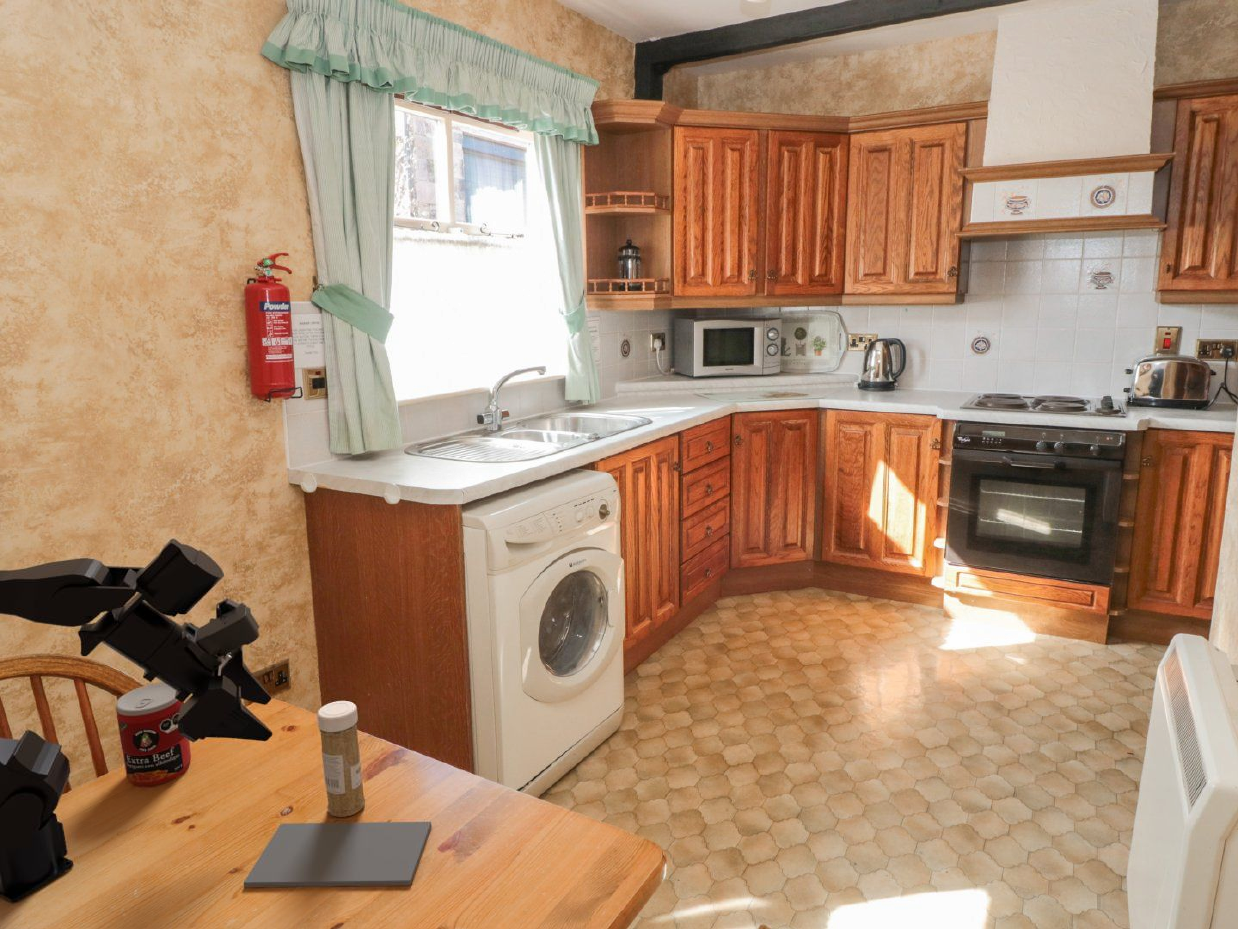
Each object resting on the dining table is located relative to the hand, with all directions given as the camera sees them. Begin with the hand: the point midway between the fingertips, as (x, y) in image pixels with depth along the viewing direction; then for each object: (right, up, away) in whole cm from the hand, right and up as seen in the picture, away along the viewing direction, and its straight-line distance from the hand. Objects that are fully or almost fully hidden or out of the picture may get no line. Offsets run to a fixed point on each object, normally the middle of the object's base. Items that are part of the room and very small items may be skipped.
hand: (269, 718), depth 98 cm
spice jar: (+8, -13, +4) cm, 15 cm away
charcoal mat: (+10, -14, -4) cm, 18 cm away
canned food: (-20, -11, +13) cm, 27 cm away
